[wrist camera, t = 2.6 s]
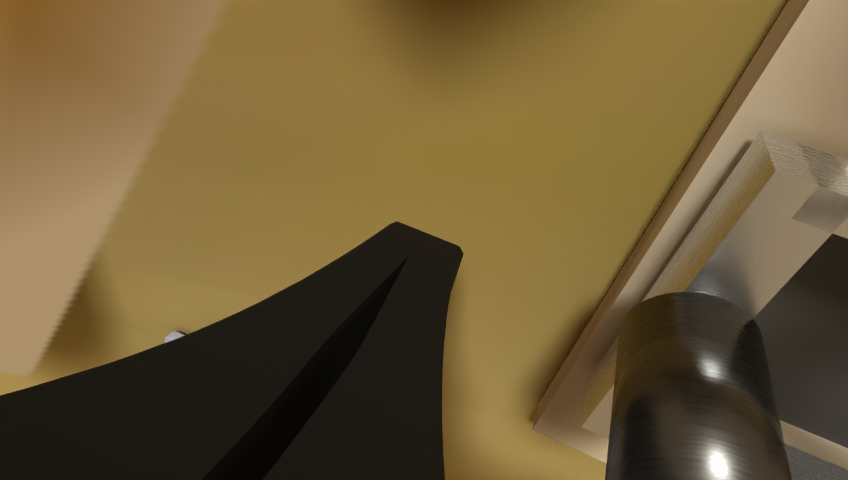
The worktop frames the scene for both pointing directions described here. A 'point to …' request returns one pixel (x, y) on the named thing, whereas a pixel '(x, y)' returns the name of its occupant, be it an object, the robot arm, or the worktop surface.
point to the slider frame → (719, 330)
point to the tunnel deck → (805, 291)
